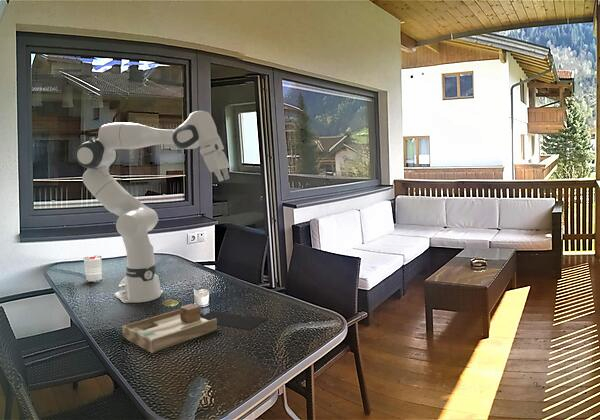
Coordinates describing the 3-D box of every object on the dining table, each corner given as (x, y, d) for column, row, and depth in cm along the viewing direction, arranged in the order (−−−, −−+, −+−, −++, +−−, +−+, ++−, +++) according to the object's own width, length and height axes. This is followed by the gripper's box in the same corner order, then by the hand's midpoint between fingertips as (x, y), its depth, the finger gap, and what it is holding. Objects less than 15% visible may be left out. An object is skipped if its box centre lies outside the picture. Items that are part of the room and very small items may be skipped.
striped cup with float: (82, 280, 237) (80, 257, 235) (99, 277, 242) (97, 254, 241) (89, 284, 229) (87, 260, 228) (106, 280, 235) (104, 257, 233)
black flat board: (250, 329, 165) (182, 318, 178) (250, 331, 165) (183, 319, 178) (267, 318, 175) (203, 308, 189) (267, 319, 176) (203, 309, 189)
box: (122, 337, 161) (122, 326, 161) (186, 317, 179) (185, 307, 179) (151, 353, 148) (150, 340, 147) (217, 329, 166) (216, 318, 165)
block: (180, 320, 169) (179, 306, 169) (192, 316, 173) (191, 303, 172) (188, 323, 166) (187, 309, 165) (200, 319, 169) (199, 306, 169)
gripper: (212, 150, 204) (224, 180, 206) (198, 151, 184) (210, 184, 186) (226, 145, 204) (237, 175, 205) (212, 146, 183) (225, 179, 185)
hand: (224, 180), depth 195 cm, fingers open, 8 cm apart
